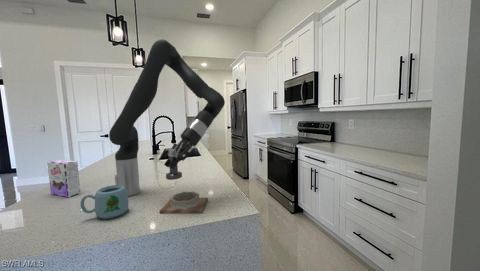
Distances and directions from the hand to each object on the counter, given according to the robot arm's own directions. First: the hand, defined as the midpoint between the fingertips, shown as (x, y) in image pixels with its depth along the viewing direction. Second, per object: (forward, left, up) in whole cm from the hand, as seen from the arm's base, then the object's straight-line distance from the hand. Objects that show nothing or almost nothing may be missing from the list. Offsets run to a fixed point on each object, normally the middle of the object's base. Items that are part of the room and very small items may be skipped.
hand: (168, 166), depth 80 cm
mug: (-23, -4, -18) cm, 29 cm away
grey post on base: (+1, +1, -5) cm, 5 cm away
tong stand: (+5, +3, -17) cm, 18 cm away
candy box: (-59, +18, -18) cm, 64 cm away
